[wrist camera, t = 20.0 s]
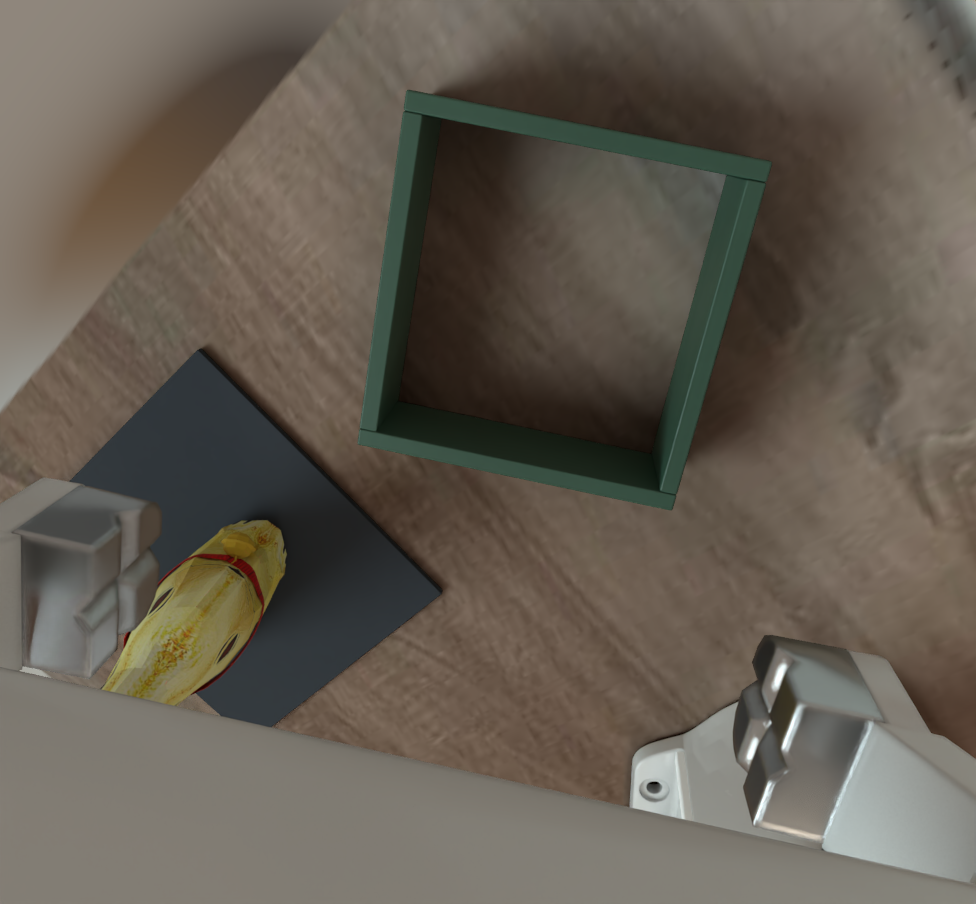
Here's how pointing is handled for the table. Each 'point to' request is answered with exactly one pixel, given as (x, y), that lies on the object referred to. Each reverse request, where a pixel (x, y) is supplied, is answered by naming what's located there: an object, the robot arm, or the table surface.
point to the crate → (524, 447)
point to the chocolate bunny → (202, 615)
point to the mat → (283, 502)
